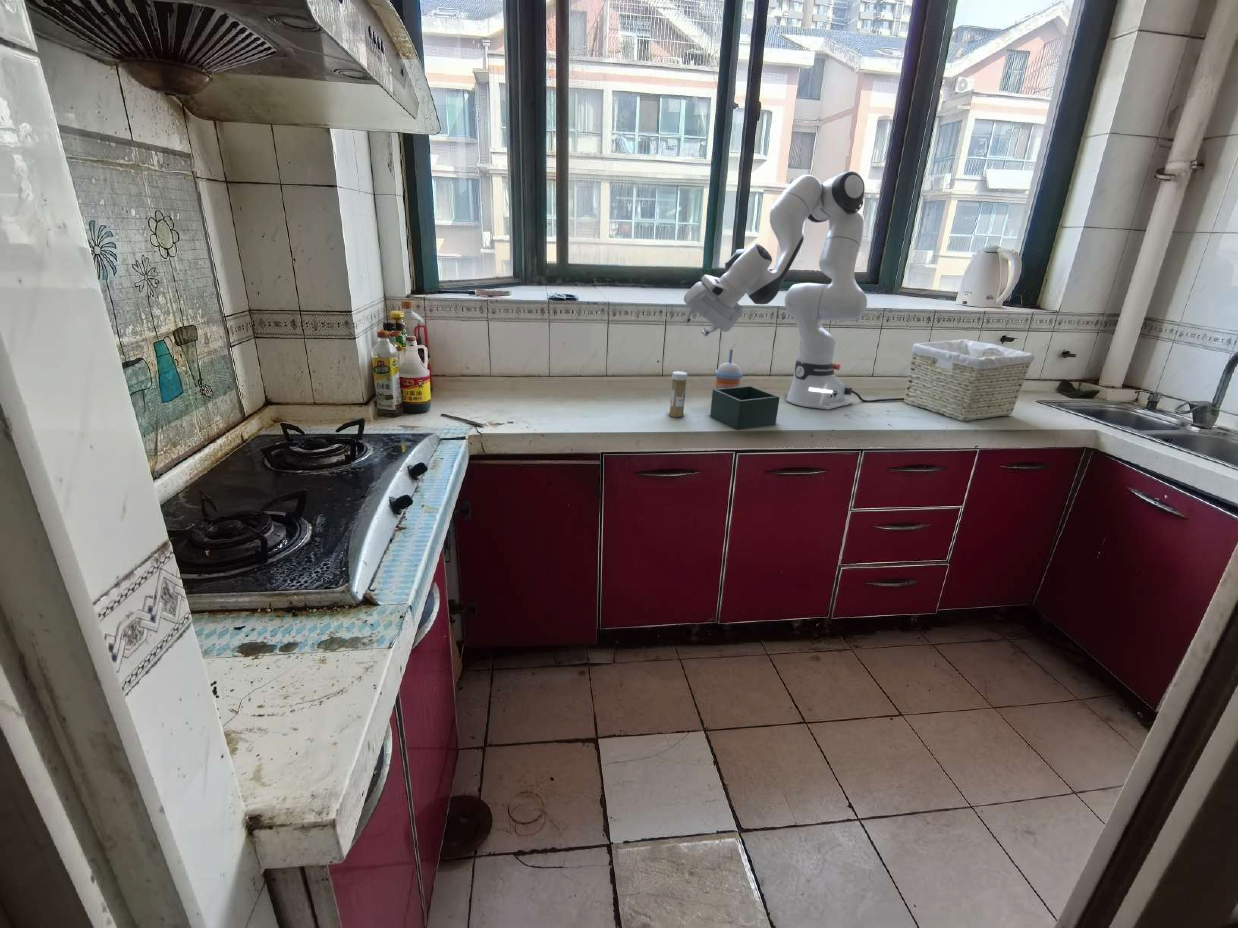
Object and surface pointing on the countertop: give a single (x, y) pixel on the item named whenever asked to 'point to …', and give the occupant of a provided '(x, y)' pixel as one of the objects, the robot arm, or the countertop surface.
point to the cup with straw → (728, 374)
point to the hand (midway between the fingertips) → (694, 328)
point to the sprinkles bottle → (678, 393)
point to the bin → (744, 407)
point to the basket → (966, 378)
